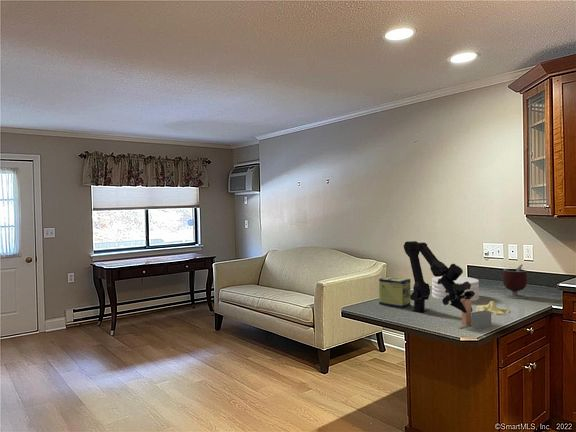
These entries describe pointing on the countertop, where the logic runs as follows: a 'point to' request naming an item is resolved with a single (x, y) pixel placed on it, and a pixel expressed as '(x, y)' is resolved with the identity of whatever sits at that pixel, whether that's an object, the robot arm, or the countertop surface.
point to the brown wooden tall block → (466, 316)
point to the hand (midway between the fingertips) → (469, 311)
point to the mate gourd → (515, 281)
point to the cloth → (493, 308)
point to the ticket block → (479, 320)
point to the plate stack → (439, 289)
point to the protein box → (394, 292)
